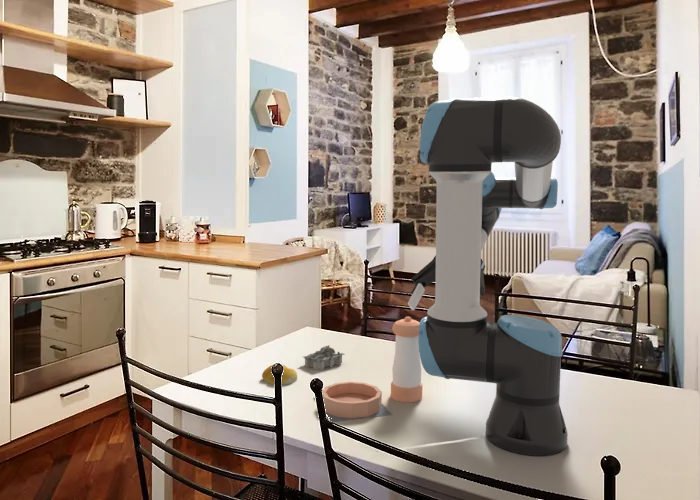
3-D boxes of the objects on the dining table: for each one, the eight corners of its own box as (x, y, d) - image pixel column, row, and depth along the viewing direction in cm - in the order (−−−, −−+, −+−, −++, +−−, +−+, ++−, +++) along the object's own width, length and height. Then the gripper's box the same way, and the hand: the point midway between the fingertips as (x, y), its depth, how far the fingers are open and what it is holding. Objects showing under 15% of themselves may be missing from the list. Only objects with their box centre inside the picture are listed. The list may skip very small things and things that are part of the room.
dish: (389, 413, 118) (389, 399, 117) (331, 420, 114) (331, 406, 113) (369, 392, 130) (369, 379, 129) (316, 398, 126) (316, 385, 126)
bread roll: (277, 390, 133) (276, 373, 133) (257, 380, 140) (257, 365, 139) (304, 382, 139) (304, 367, 138) (284, 373, 145) (284, 358, 145)
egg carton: (329, 358, 159) (329, 344, 159) (347, 364, 154) (347, 350, 153) (300, 365, 152) (300, 351, 152) (317, 372, 146) (317, 357, 146)
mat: (392, 416, 117) (392, 414, 117) (329, 424, 113) (329, 422, 113) (370, 393, 131) (370, 391, 130) (313, 399, 126) (313, 398, 126)
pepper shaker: (386, 401, 126) (388, 318, 124) (395, 390, 133) (396, 312, 131) (418, 405, 123) (419, 321, 121) (425, 394, 130) (427, 314, 128)
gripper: (517, 258, 137) (484, 328, 127) (433, 250, 154) (399, 312, 144) (507, 238, 132) (473, 309, 123) (422, 232, 149) (386, 295, 140)
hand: (433, 311), depth 134 cm, fingers open, 13 cm apart
